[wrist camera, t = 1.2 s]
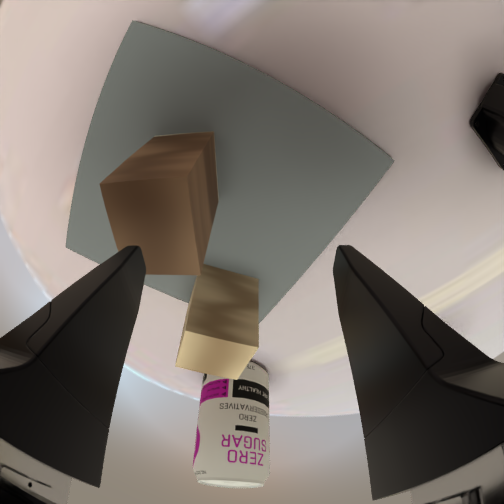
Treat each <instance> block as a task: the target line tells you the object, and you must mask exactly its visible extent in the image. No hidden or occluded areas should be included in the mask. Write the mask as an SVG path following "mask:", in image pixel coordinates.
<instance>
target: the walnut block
mask: <svg viewBox="0 0 504 504" xmlns="http://www.w3.org/2000/svg"><path fill="white" fill-rule="evenodd" d="M99 185H100V189H101V193H102V197H103V201H104V204H105V208H106V212H107V216H108V219H109V223H110V226H111V230H112V233H113V236H114V240H115V243H116V246H117V249H118V252H119V251H120V250H122V249H123V248H125V247H126V246H129V245H138V246H139V247H140V248H141V250H142V254H143V257H144V261H145V265H146V275H201V272H202V268H203V264H204V259H205V255H206V251H207V246H208V242H209V238H210V234H211V230H212V226H213V222H214V218H215V214H216V210H217V206H218V202H219V196H218V182H217V168H216V153H215V136H214V131H211V132H195V133H182V134H170V135H160V136H154V137H153V138H152V139H151V140H149V141H148V142H147V143H146V144H144V145H143V146H142V147H141V148H140V149H138V150H137V151H136V152H135V153H134V154H132V155H131V156H130V157H129V158H128V159H126V160H125V161H124V162H123V163H122V164H121V165H120V166H118V167H117V168H116V169H115V170H114V171H113V172H112V173H111V174H110V175H108V176H107V177H106V178H105V179H104V180H103V181H102V182H101V183H100V184H99Z"/></svg>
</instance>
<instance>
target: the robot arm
mask: <svg viewBox="0 0 504 504" xmlns="http://www.w3.org/2000/svg"><path fill="white" fill-rule="evenodd" d="M476 122H477V124H476V126H475V123H476ZM470 125H471V127H472V129H473V130H474V131H475V132H476V134H477V135H478V136H479V138H480V139H481V141H482V142H483V143H484V145H485V146H486V147H487V149H488V150H489V152H490V153H491V155H492V156H493V158H494V159H495V161H496V162H497V164H498V165H499V167H500V168H501V169H503V170H504V74H503V73H499V75H498V76H497V78H496V80H495V82H494V83H493V85H492V87H491V88H490V90H489V92H488V93H487V95H486V97H485V98H484V100H483V101H482V103H481V105H480V106H479V108H478V109H477V111H476V112H475V114H474V116H473V117H472V119H471V121H470ZM145 275H146V265H145V261H144V257H143V254H142V250H141V248H140V247H139V246H138V245H129V246H126V247H125V248H123V249H122V250H120V251H119V252H117V253H116V254H114V255H113V256H111V257H110V258H109V259H107V260H106V261H104V262H103V263H101V264H100V265H99V266H97V267H96V268H94V269H93V270H92V271H90V272H89V273H87V274H86V275H85V276H83V277H82V278H80V279H79V280H78V281H76V282H75V283H74V284H72V285H71V286H70V287H68V288H67V289H66V290H64V291H63V292H62V293H60V294H59V295H58V296H56V297H55V298H54V299H52V301H51V302H48V303H47V304H46V305H45V306H44V307H42V308H41V309H40V310H38V311H37V312H36V313H34V314H33V315H32V316H30V317H29V318H28V319H26V320H25V321H23V322H22V323H21V324H19V325H18V326H16V327H15V328H14V329H12V330H11V331H9V332H8V333H7V334H5V335H4V336H3V337H1V338H0V504H67V501H68V495H69V490H70V485H71V480H72V478H73V479H76V480H79V481H81V482H84V483H86V484H89V485H92V486H95V487H98V488H99V487H100V483H101V476H102V469H103V462H104V455H105V450H106V444H107V438H108V432H109V427H110V422H111V416H112V412H113V407H114V402H115V398H116V394H117V389H118V385H119V381H120V377H121V373H122V369H123V365H124V361H125V357H126V353H127V350H128V346H129V342H130V339H131V335H132V332H133V328H134V325H135V321H136V318H137V314H138V310H139V306H140V300H141V295H142V290H143V285H144V280H145ZM333 276H334V283H335V290H336V297H337V305H338V313H339V318H340V322H341V326H342V331H343V335H344V339H345V343H346V348H347V352H348V357H349V361H350V366H351V370H352V375H353V380H354V385H355V390H356V395H357V400H358V405H359V411H360V416H361V422H362V428H363V434H364V438H365V439H364V440H365V447H366V454H367V460H368V468H369V475H370V484H371V492H372V499H373V500H377V499H382V498H386V497H389V496H393V495H397V494H400V493H403V492H407V491H410V493H411V500H412V504H504V363H501V362H497V361H495V360H493V359H491V358H490V357H488V356H487V355H485V354H484V353H483V352H482V351H480V350H479V349H478V348H477V347H475V346H474V345H473V344H471V343H470V342H469V341H468V340H466V339H465V338H464V337H462V336H461V335H460V334H459V333H457V332H456V331H455V330H453V329H452V328H451V327H450V326H448V325H447V324H446V323H445V322H443V321H442V320H441V319H440V318H439V317H438V316H436V315H435V314H434V313H433V312H432V311H431V310H429V309H428V308H427V307H426V306H425V307H424V304H422V303H421V302H420V301H419V300H418V299H417V298H415V297H414V296H413V295H412V294H411V293H409V292H408V291H407V290H406V289H405V288H404V287H402V286H401V285H400V284H399V283H397V282H396V281H395V280H394V279H393V278H391V277H390V276H389V275H388V274H386V273H385V272H384V271H383V270H382V269H380V268H379V267H378V266H377V265H375V264H374V263H373V262H371V261H370V260H369V259H368V258H366V257H365V256H364V255H363V254H361V253H360V252H359V251H357V250H356V249H355V248H354V247H352V246H350V245H339V246H338V247H337V250H336V255H335V261H334V266H333Z"/></svg>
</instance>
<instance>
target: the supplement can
mask: <svg viewBox="0 0 504 504" xmlns="http://www.w3.org/2000/svg"><path fill="white" fill-rule="evenodd" d="M269 442H270V440H269V378H268V374H267V372H266V371H265V370H264V369H262V368H261V367H260V366H259V365H257V364H255V363H254V362H251V361H249V363H248V364H247V366H246V367H245V369H244V370H243V372H242V373H241V375H240V376H239V378H238V379H237V380H234V379H229V378H224V377H219V376H214V375H210V374H205V373H204V375H203V383H202V391H201V399H200V407H199V415H198V424H197V432H196V442H195V451H194V460H193V470H194V472H195V475H196V477H197V479H198V482H199V483H202V484H205V485H210V486H217V487H226V488H255V487H262V486H264V482H265V481H266V479H267V478H268V476H269V474H270V445H269V444H270V443H269Z"/></svg>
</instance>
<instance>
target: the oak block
mask: <svg viewBox="0 0 504 504" xmlns="http://www.w3.org/2000/svg"><path fill="white" fill-rule="evenodd" d="M258 348H259V279H257V278H253V277H249V276H246V275H242V274H238V273H235V272H231V271H227V270H224V269H220V268H217V267H213V266H210V265H206V264H203V268H202V272H201V275H197V277H196V280H195V284H194V287H193V291H192V294H191V298H190V301H189V305H188V309H187V314H186V318H185V323H184V327H183V332H182V336H181V341H180V346H179V350H178V355H177V360H176V365H175V366H176V367H180V368H184V369H188V370H192V371H196V372H201V373H205V374H210V375H214V376H219V377H224V378H229V379H234V380H237V379H238V378H239V376H240V375H241V373H242V372H243V370H244V369H245V367H246V366H247V364H248V363H249V361H250V360H251V358H252V357H253V355H254V354H255V352H256V351H257V349H258Z"/></svg>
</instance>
